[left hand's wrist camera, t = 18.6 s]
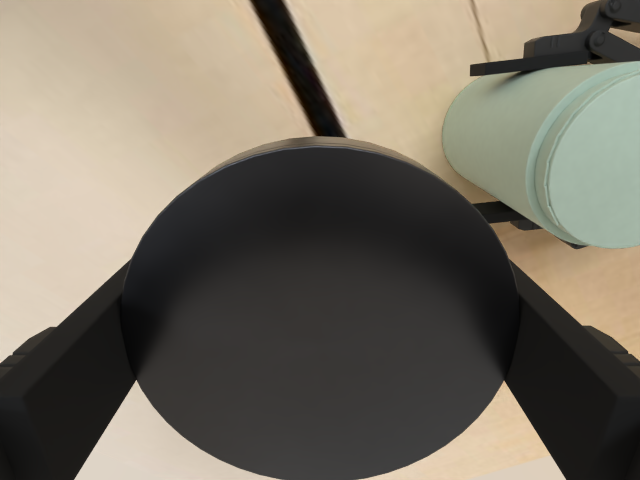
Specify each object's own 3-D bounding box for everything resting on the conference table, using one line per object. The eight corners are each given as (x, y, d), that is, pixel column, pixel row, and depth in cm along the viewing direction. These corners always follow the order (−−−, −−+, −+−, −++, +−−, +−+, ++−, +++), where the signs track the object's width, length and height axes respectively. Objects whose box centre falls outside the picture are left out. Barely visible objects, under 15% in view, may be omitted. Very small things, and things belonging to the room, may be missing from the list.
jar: (524, 45, 32) (715, 9, 16) (569, 143, 35) (766, 189, 19) (421, 117, 34) (507, 143, 18) (472, 203, 37) (582, 288, 21)
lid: (199, 453, 14) (184, 498, 13) (94, 168, 10) (53, 183, 9) (491, 420, 14) (514, 464, 12) (496, 105, 10) (529, 109, 8)
